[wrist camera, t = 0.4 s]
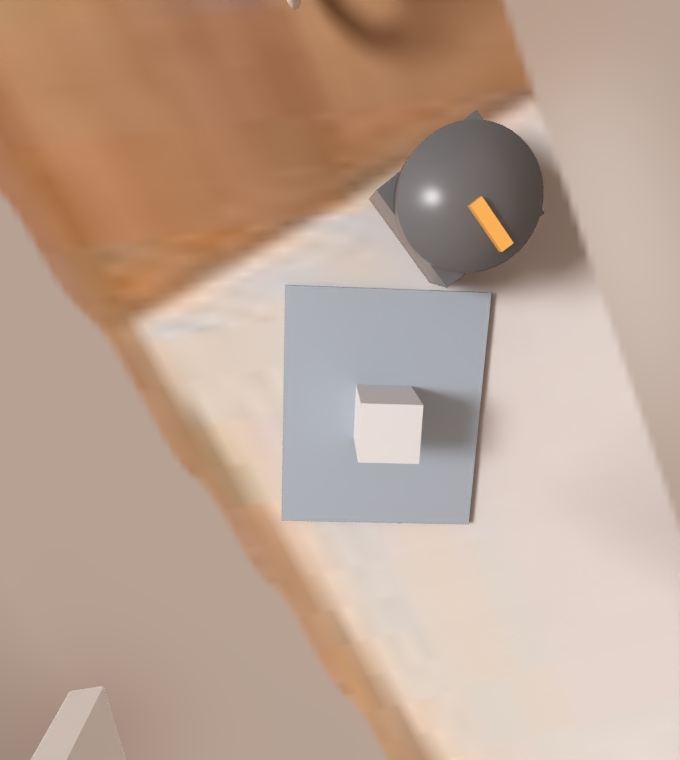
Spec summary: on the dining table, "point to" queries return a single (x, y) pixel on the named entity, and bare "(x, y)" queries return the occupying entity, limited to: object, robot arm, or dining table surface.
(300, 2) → the mug
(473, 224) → the knob
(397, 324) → the shaft board
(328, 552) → the dining table surface
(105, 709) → the robot arm
